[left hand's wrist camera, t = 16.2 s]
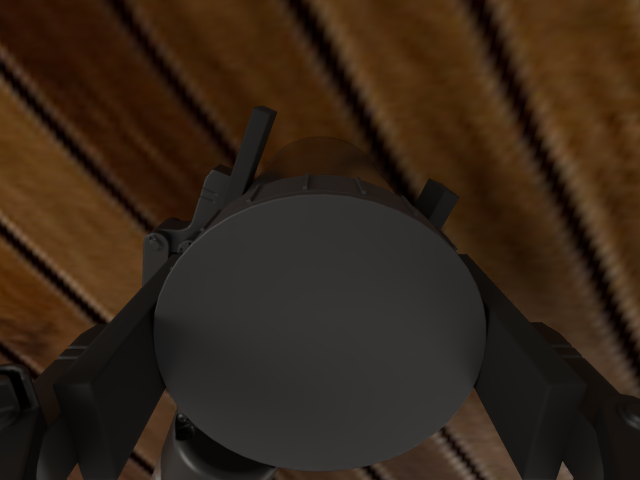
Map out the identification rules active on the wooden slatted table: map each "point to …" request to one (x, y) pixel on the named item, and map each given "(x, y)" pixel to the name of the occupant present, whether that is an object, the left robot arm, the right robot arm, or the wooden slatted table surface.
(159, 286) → the left robot arm
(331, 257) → the lid
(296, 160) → the jar
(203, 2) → the wooden slatted table surface
